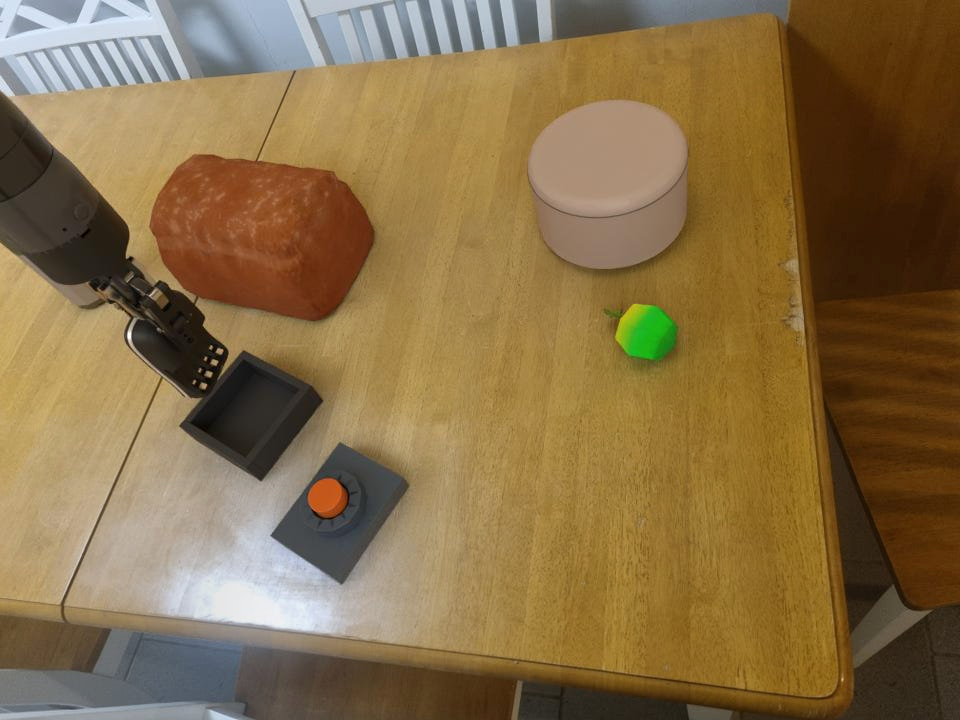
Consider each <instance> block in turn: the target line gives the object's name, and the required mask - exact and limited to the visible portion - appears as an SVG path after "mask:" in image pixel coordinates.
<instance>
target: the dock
mask: <svg viewBox="0 0 960 720" xmlns="http://www.w3.org/2000/svg"><path fill="white" fill-rule="evenodd" d="M323 402H324V399H323V398H322V397H321V395H320V394H319V393H318V392H317V390H316V389H315V388H314V387H313V386H312V384H310V383H308V382H306V381H304V380H302V379H300V378H299V377H297V376H294V375H292V374H291V373H288V372H287V371H285V370H283V369H281V368H279V367H277V366H276V365H274V364H271V363H270V362H268V361H265V360H264V359H262V358H259V357H258V356H256V355H254V354H253V353H250V352H248V351H247V350H245V349H242V351H241V352H240V353H239V354H238V355H237V357H235V359H233V361H232V362H231V364H229V366H228V367H227V368H226V369H225V371H224V372H223V373H221V374H220V376H219V378H218V380H217V382H216V384H215V386H214V388H213V390H212V391H211V393H210V394H209V395H208V396H206V397H203V398H200V400H199V401H198V402H197V404H196V405H195V406H194V407H193V408H192V409H191V411H190V412H189V413H188V414H187V416H186V417H185V418H184V419H183V420H182V421H181V422H180V424H179V425H178V427H179V428H180V429H181V430H182V431H183V432H185V433H186V434H187V435H188V436H190V437H191V438H192V439H193V440H195V441H196V442H198V443H199V444H201V445H202V446H204V447H206V448H208V449H209V450H210V451H212V452H214V453H215V454H217V456H220V457H221V458H223V459H225V460H226V461H227V462H230V463H231V464H233V465H234V466H236V467H237V468H239V469H240V470H242V471H244V472H245V473H247V474H248V475H250V476H251V477H253V478H254V479H256V480H258V481H259V482H262V481H263V480H264V478H265V477H266V476H267V474H269V472H270V471H271V469H272V468H273V467H274V465H275V464H277V462H278V461H279V459H280V458H281V457H282V455H284V453H285V452H286V450H287V448H288V447H289V446H290V445H291V444H292V443H293V441H294V440H295V439H296V437H297V436H298V435H299V434H300V432H301V430H302V429H304V427H305V426H306V425H307V423H308V421H309V420H310V419H311V418H312V416H313V415H314V414H315V412H316V411H318V409H319V407H320V406H321V404H322V403H323Z"/></svg>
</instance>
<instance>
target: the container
mask: <svg viewBox="0 0 960 720" xmlns="http://www.w3.org/2000/svg"><path fill="white" fill-rule="evenodd" d="M688 143H689V142H688V141H687V137H686V135H685V133H684V131H683V128H682V127H681V126H680V124H679V123H678V122H677V120H675V119H674V118H673V117H672V116H671V115H670V114H668V113H667V112H666V111H664V110H663V109H660V108H659V107H656V106H655V105H652V104H648V103H645V102H641V101H636V100H631V99H606V100H599V101H598V100H597V101H594V102H590V103H586V104H584V105H580V106H578V107H574V108H572V109H571V110H568V111H566V112H565V113H563V114H562V115H559V116H558V117H556V119H554V120H552V121H551V123H549V124H548V125H547V126H546V127H544V129H543V130H542V131H541V132H540V133H539V135H537V138H536V139H535V141H534V142H533V143H532V146H531V148H530V151H529V155H528V158H527V165H526V176H527V181H528V183H529V185H530V189H531V194H532V198H533V203H534V208H535V211H536V217H537V221H538V225H539V230H540V233H541V236H542V238H543V240H544V242H545V244H546V245H547V246H548V247H549V249H550V250H551V251H552V252H553V253H555V254H556V255H557V256H558V257H560V258H561V259H563V260H565V261H567V262H569V263H571V264H574V265H577V266H580V267H584V268H587V269H588V268H589V269H596V270H613V269H614V270H615V269H622V268H627V267H631V266H634V265H637V264H641V263H643V262H645V261H648V260H649V259H652V258H653V257H655V256H657V255H658V254H660V253H662V252H663V251H664V250H666V248H668V247H669V246H670V245H671V244H673V242H674V241H675V240H676V238H677V237H678V236H679V234H680V233H681V232H682V230H683V227H684V226H685V223H686V220H687V213H688V177H689V175H688V172H689V171H688V169H689V166H688V165H689V157H690V154H689V153H690V152H689V151H690V149H689V144H688Z"/></svg>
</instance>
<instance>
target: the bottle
mask: <svg viewBox="0 0 960 720" xmlns="http://www.w3.org/2000/svg"><path fill="white" fill-rule="evenodd" d="M0 244H1V245H3V247H4V248H6V249H7V250H8V251H9V252H11V253H12V254H13V255H14V256H15V257H16V258H18V259H19V260H20V261H21V262H22V263H24V264H25V265H26V266H28V267H29V268H30V269H31V270H32V271H34V272H35V273H36V274H37V275H38V276H39V277H40V278H41V279H43V280H44V282H47V283H48V284H49V285H50V286H51V287H52V288H54V289H55V290H56V291H57V292H58V293H60V295H62V296H63V297H64V298H66V300H67V301H69V302H70V303H71V304H73V305H75V306H77V307H79V308H81V309H82V310H83V309H93V308H95V307H97V306H98V305H100V304H103V303H104V302H105V300H102V299H101V298H100V297H99V296H98V295H97V294H96V293H95V292H94V291H93V290H92V289H90V288H89V287H87V286H86V285H84V284H79V285H62V284H59V283H56V282H54V281H53V280H51V279H50V278H49V277H48V276H47V275H46V274H44V273H43V272H42V271H41V270H40V269H39V268H38V267H37V266H35V265H34V264H33V263H32V262H31V261H30V260H29V259H28V258H26V257H25V256H24V255H23V254H22V253H21V252H20V251H19V250H18V249H16V248H15V247H14V246H13V245H12V244H11V243H10V242H9V241H8V240H6V239H5V238H4V237H3V236H2V235H1V234H0Z"/></svg>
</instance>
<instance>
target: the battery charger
mask: <svg viewBox="0 0 960 720" xmlns="http://www.w3.org/2000/svg"><path fill="white" fill-rule="evenodd" d="M171 290H172V291H173V292H174V294H175V295H176V296H177V297H178V299H179V300H180V301H181V303H182V304H183V305H184V307H185V308H186V309H187V311H188V312H189V313H190V315H191V316H192V318H191V319H190V320H189V321H187V323H188V324H189V325H190V326H191V327H192V328H193V329H194V330H195V331H196V332H197V333H198V334H199V336H200V339H199V341H198V342H197V343H196V345H195V346H194V347H193V348H192V349H191V350H190V351H189V352H188V353H183V352H182V351H180V350H178V349H177V348H176V347H175V346H174V345H173V344H172V343H171V342H170V341H169V340H168V339H167V338H166V337H165V336H164V335H163V334H162V333H159V332H158V331H157V330H156V328H155V327H154V326H153V325H152V324H150V323H149V322H148V321H147V320H140V319H137V318H135V317H133V316H131V318H130V317H129V318H130V319H129V320H128V322H127V324H126V326H125V328H124V332H123V339H124V343H125V344H126V346H127V347H128V348H129V350H130V351H131V352H132V353H133V354H135V355H136V356H137V358H139V360H140V361H142V362H143V363H144V364H145V365H146V366H147V367H148V368H150V369H151V370H152V371H154V372H155V373H156V374H157V375H158V376H159V377H161V378H162V379H163V380H165V381H166V382H167V383H169V384H170V385H171V386H172V387H173V388H174V389H175V390H176V391H177V392H179V393H180V395H181V396H182V397H184V398H185V399H191V400H192V399H202V398H203V397H206V396H208V395H209V394H210V393H211V391H212V390H213V388H214V386H215V384H216V382H217V380H218V379H219V378H220V377H221V375H222V371H223V369H224V367H225V364H226V362H227V360H228V357H229V355H230V351H229V348H228V347H227V346H226V345H225V344H224V343H223V342H221V341H220V340H219V339H217V338H216V337H214V336H213V335H212V334H211V333H210V332H209V331H208V330H207V329H206V327H205V326H204V323H205V321H206V315H205V314H204V313H203V312H202V311H201V309H200V308H199V307H198V306H197V305H196V304H195V303H194V302H193V301H192V300H191V299H190V298H189V297H188V296H187V295H185V294H184V293H183V292H182V291H180V290H177V289H171ZM140 306H141V304H140V303H139V304H138V305H137V307H136V308H138V307H140Z"/></svg>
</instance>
